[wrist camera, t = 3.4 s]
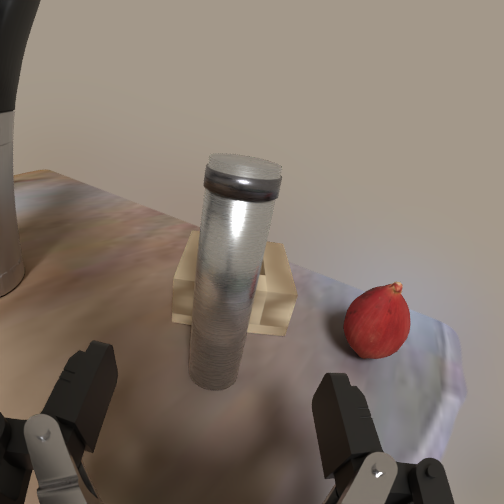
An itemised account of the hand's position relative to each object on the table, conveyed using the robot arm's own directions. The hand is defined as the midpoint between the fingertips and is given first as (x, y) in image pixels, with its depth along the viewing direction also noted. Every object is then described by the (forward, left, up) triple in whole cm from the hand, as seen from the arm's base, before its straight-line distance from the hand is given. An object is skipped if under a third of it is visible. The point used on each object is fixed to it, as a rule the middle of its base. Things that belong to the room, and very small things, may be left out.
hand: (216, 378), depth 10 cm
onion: (+13, +11, -9) cm, 19 cm away
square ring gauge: (+1, +18, -9) cm, 20 cm away
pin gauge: (0, +8, -9) cm, 11 cm away
